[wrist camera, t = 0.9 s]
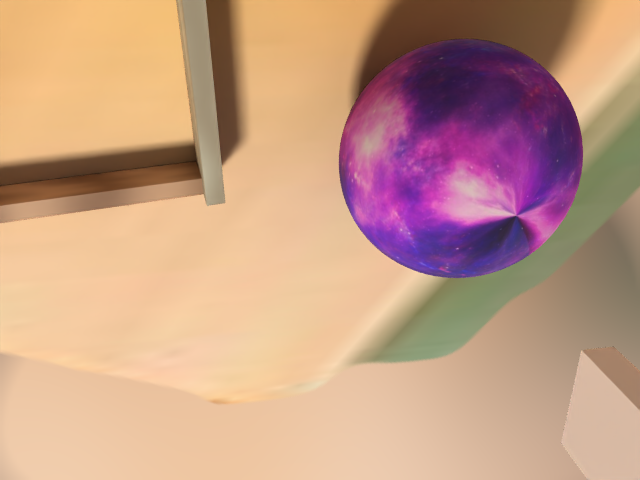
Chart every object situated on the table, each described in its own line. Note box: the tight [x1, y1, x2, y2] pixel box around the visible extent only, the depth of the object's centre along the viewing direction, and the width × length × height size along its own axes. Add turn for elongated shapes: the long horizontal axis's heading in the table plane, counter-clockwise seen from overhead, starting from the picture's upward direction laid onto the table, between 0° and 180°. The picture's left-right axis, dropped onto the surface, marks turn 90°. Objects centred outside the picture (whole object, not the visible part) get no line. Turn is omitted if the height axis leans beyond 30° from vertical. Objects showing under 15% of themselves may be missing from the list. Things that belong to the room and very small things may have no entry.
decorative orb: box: [339, 39, 583, 278], centre depth 35 cm, size 15×15×15 cm
